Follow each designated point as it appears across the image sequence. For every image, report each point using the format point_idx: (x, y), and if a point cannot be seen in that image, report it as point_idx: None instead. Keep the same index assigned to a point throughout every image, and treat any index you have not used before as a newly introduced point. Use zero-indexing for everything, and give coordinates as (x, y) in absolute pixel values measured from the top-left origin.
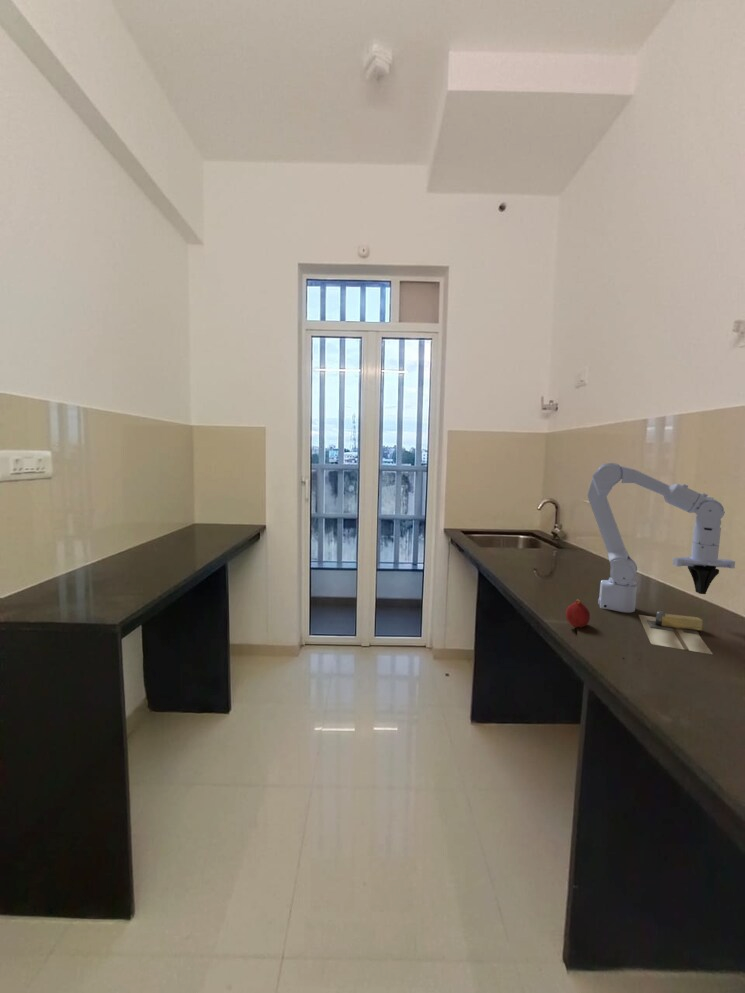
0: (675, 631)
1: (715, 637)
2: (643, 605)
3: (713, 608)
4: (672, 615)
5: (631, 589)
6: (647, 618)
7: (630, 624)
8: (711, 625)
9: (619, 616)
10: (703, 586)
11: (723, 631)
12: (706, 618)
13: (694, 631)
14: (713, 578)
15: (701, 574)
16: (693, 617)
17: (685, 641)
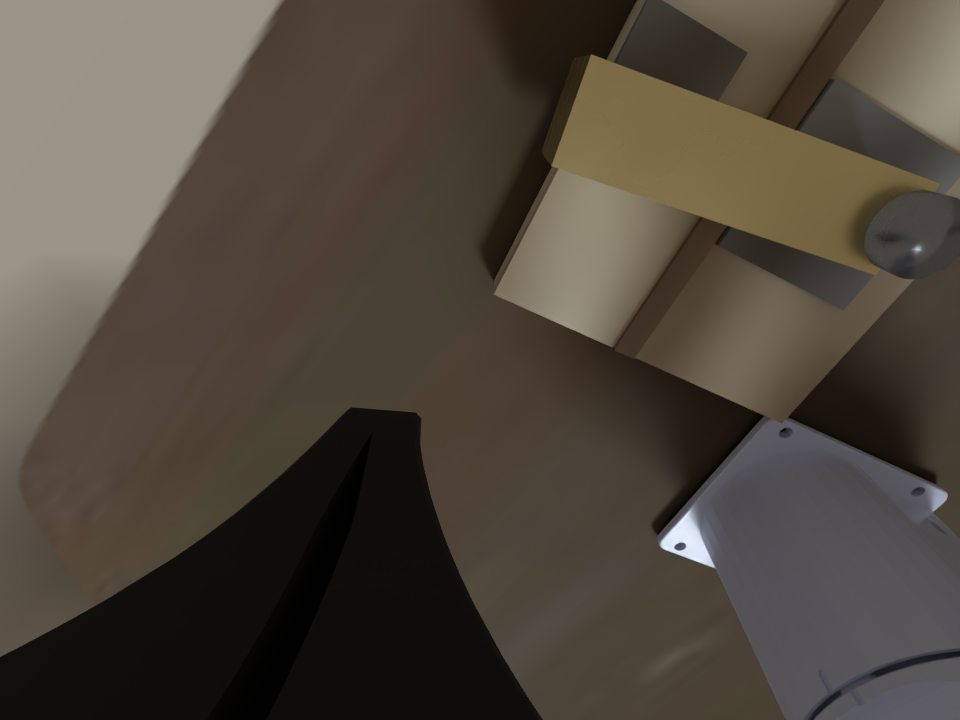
0: (835, 53)
1: (438, 55)
2: (531, 590)
3: (110, 562)
4: (798, 213)
5: (936, 617)
6: (781, 357)
7: (928, 309)
8: (299, 307)
9: (861, 439)
10: (385, 472)
11: (278, 193)
12: (254, 423)
13: (651, 49)
14: (136, 587)
15: (489, 699)
16: (613, 161)
17: None
